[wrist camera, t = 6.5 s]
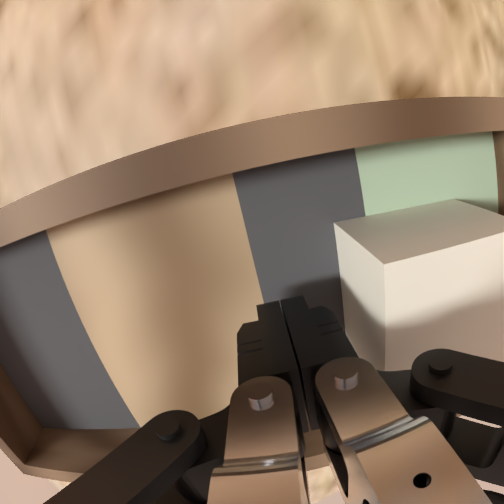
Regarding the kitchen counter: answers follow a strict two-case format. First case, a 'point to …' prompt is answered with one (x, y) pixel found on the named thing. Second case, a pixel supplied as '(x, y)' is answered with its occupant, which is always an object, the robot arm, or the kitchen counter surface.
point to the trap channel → (203, 261)
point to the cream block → (423, 282)
